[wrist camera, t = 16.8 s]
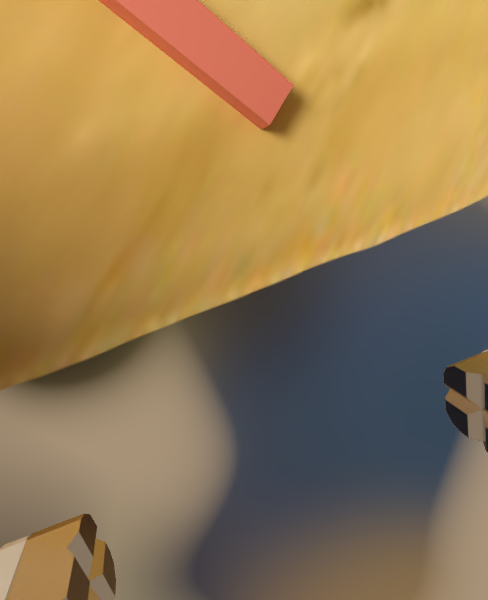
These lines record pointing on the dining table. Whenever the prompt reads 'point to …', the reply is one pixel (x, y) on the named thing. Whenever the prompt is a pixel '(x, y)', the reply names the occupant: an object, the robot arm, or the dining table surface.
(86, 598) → the robot arm
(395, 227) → the dining table surface
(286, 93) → the salmon red bar
